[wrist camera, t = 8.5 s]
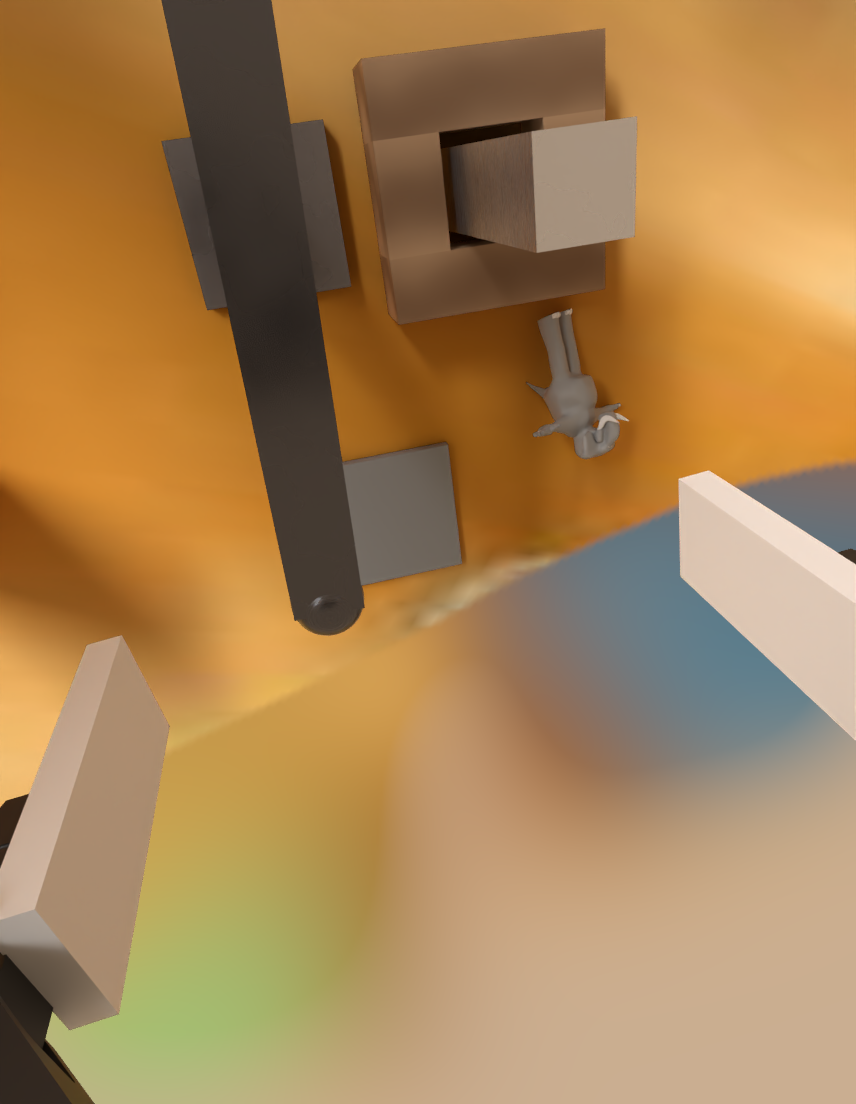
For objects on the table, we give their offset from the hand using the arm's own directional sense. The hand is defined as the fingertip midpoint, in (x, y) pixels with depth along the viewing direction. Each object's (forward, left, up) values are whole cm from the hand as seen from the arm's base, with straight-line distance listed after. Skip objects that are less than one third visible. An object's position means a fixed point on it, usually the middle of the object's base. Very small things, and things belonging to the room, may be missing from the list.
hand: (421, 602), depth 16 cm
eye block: (-7, +10, -29) cm, 31 cm away
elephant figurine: (+5, +14, -29) cm, 33 cm away
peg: (-7, +10, -29) cm, 31 cm away
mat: (+12, +2, -29) cm, 31 cm away
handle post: (-7, -2, -29) cm, 30 cm away
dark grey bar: (-7, -2, -12) cm, 14 cm away
